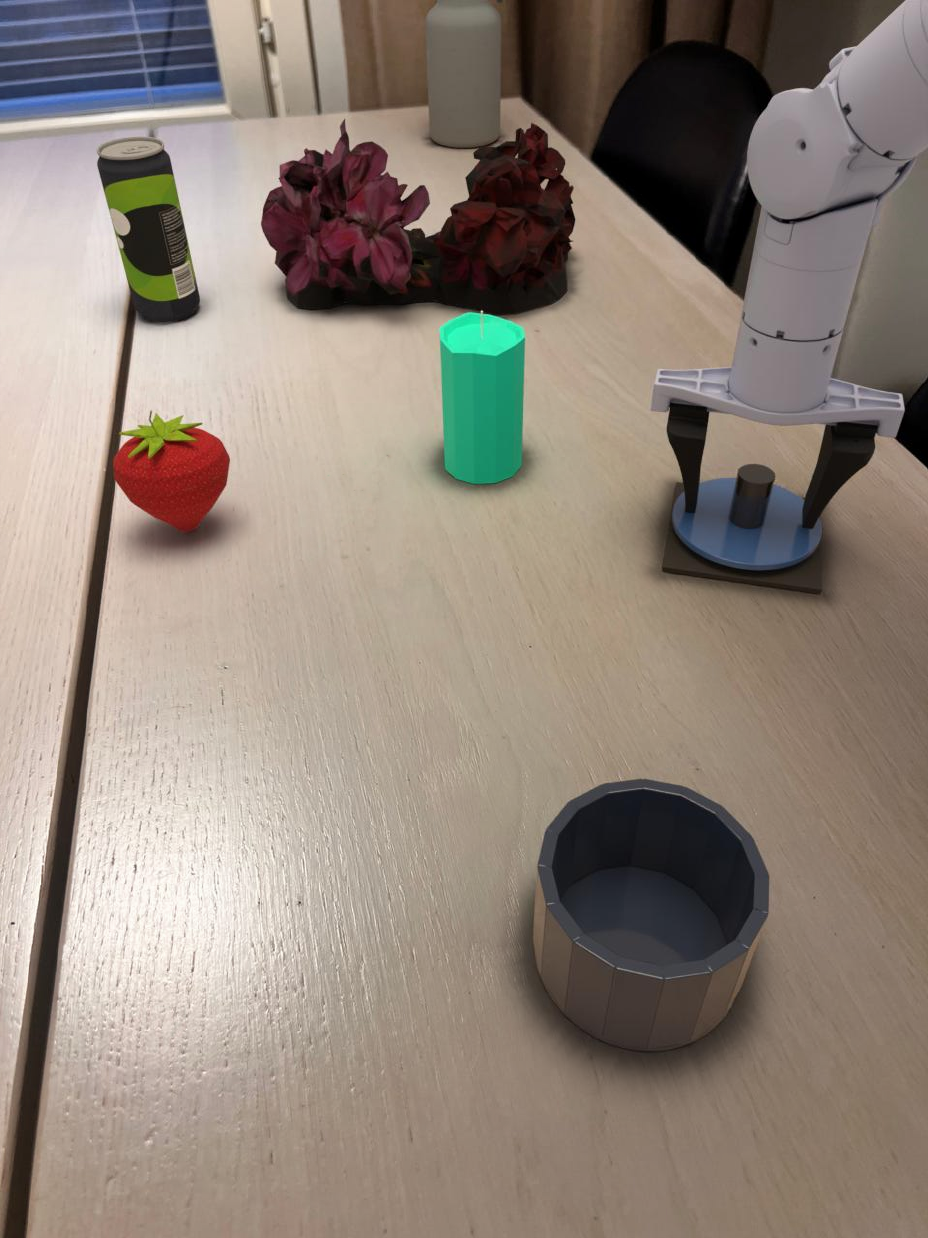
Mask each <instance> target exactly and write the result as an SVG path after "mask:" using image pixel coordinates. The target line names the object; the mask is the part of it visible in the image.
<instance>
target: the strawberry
mask: <svg viewBox="0 0 928 1238" xmlns="http://www.w3.org/2000/svg"><path fill="white" fill-rule="evenodd" d="M152 413H153V410H150V411H149V416H148V422H149V424H150V425H146V424H138V425H137V428H135V429H131V430H130V429H129V430H124V431H120V432H118V435H119V436H125V437H131V438H130V439H128V440H127V441H126V442H124V443H123V444H122V446H121V447H120V449H119V450H117V452H116V453H115V455H114V457H113V460H112V464H113V465H112V466H113V477H114V481H115V482H116V484H117V485H118V487H119V488H120V489H121V491H122V492H123V494H124V495H125V496H126V498H127V500H128V501H129V502H130V503H132V504H133V505H135V506H136V507H137V508H138V509H140V510H142V511H143V512H145V513H146V514H148V515H150V516H151V517H153V519H157V520H158V521H160V522H163V523H164V524H165V523H166V524H168V525H169V526H171V527H173V528H174V529H175V530H177V531H180V532H184V533H185V532H186V533H187V532H192V531H194V530H196V529H198V527H199V526H200V525H201V522H202V521H203V519H204V518H205V517H206V516H207V515H208V513H210V511H211V510H212V509H213V508H214V506H215V504H216V503H217V501H218V500H219V498H220V497H221V495H222V493H223V492H224V490H225V488H226V487H227V484H228V478H229V471H230V464H231V463H230V462H231V458H230V455H229V452H228V451H227V449H226V447H225V445H224V443H223V442H222V440H221V439H220V438H219V437H217V436H216V435H214V434H212V433H210V432H208V431H206V430H204V429H203V428H199V427H200V426H202V425H203V422H190V423H189V422H188V423H181V422H182V419H183V417H184V414H182V415H180V416H177V417H174V418H172V419H170V420H167V421H165V420H163V418H161V416H159V414H158V413H157V412H155V414H154V416H153V420H152V415H153V414H152Z"/></svg>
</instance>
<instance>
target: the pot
mask: <svg viewBox="0 0 928 1238" xmlns="http://www.w3.org/2000/svg"><path fill="white" fill-rule="evenodd" d="M539 851H540V852H539V856H538V860H537V864H536V879H535V895H534V896H535V897H534V910H533V911H534V913H533V929H532V944H533V950H534V958H535V964H536V967H537V971H538V974H539V976H540V979H541V982H542V984H543V986H544V989H545V990H546V992H547V993H548V996H549V998H551V1000H552V1001H553V1002H554V1004H555V1005H556V1007H557V1008H558V1009H559V1011H561V1013H563V1015H564V1016H565V1017H566V1018H568V1019H569V1021H570V1022H572V1023H573V1024H574V1025H576V1026H577V1027H578V1028H580V1029H581V1030H582V1031H584V1032H585V1033H587V1034H589V1035H590V1036H592V1037H594V1038H595V1039H598V1040H600V1041H602V1042H604V1043H606V1044H609V1045H611V1046H615V1047H618V1048H620V1049H621V1048H622V1049H624V1050H625V1049H627V1050H631V1051H637V1052H662V1051H669V1050H673V1049H678V1048H682V1047H684V1046H687V1045H690V1044H691V1043H695V1042H696V1041H697V1040H699V1039H702V1038H703V1037H704V1036H706V1035H707V1034H708V1033H710V1032H712V1030H714V1029H715V1028H716V1027H717V1026H718V1025H719V1024H720V1023H721V1022H722V1021H723V1020H724V1019H725V1017H726V1016H727V1014H728V1012H729V1011H730V1009H731V1008H732V1005H733V1003H734V1001H735V999H736V997H737V995H738V994H739V992H740V990H741V988H742V986H743V984H744V982H745V981H744V980H745V978H746V975H747V973H748V970H749V968H750V965H751V963H752V960H753V957H754V954H755V952H756V949H757V946H758V944H759V942H760V938H761V937H762V936H761V935H762V933H763V931H764V929H765V925H766V923H767V920H768V918H769V914H770V873H769V871H768V869H767V866H766V863H765V861H764V859H763V857H762V855H761V853H760V851H759V847H758V846H757V843H756V841H755V838H754V837H753V836H752V834H751V833H750V832H749V831H748V830H747V829H745V827H744V826H743V825H742V824H741V823H740V822H739V821H738V820H737V819H736V818H735V816H734V815H732V814H731V813H730V812H729V811H728V810H727V809H726V808H725V807H724V806H723V805H722V804H719V803H718V802H716V801H714V800H712V799H711V798H708V797H706V796H704V795H703V794H701V793H698V792H697V791H696V790H693V789H692V788H689V787H687V786H684V785H680V784H675V783H671V782H670V783H669V782H664V781H659V780H653V779H649V778H636V779H628V780H620V781H611V782H604V783H602V784H599V785H597V786H595V787H593V788H592V789H590V790H588V791H586V792H583V793H581V794H580V795H578V796H576V797H574V798H572V799H570V800H569V801H567V802H566V803H565V805H564V806H563V807H562V808H561V809H560V811H559V813H557V815H556V816H555V818H554V819H553V820H552V821H551V822H550V823H549V825H548V826H547V827H546V828H545V831H544V834H543V839H542V843H541V847H540V850H539Z"/></svg>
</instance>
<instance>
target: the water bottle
mask: <svg viewBox="0 0 928 1238" xmlns="http://www.w3.org/2000/svg"><path fill="white" fill-rule="evenodd" d="M495 1H496V3H498V4H500V3H503V2H504V1H503V0H495ZM425 53H426V75H427V76H426V77H427V78H426V79H427V101H428V102H427V103H428V126H429V135H430V137H431V139H432V140H433V142H435V143H436V144H439V146H440V145H441V146H443V147H448V148H457V149H471V148H480V147H481V146H488V145H490V144H492V143H494V142H495V141H496V140H498V138H499V137H500V135H501V91H502V90H501V86H502V85H501V84H502V83H501V75H502V71H501V70H502V65H501V64H502V18H501V14H500V12H499V10H497V8H496V7H495V6H494V5H492V4H491V2H490V0H436V3H435V5H434V6H433V7H431V8H430V9H429V11H428V13H427V15H426V16H425Z"/></svg>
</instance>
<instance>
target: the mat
mask: <svg viewBox="0 0 928 1238" xmlns="http://www.w3.org/2000/svg"><path fill="white" fill-rule="evenodd" d="M674 486H675V487H674V493H673V500H672V505H671V512H670V518H669V523H668V524H669V525H668V531H667V537H666V542H665V543H666V544H665V550H664V557H663V563H662V569H661V572H665V573H672V574H679V575H685V576H692V577H700V578H707V579H713V580H714V579H715V580H720V581H726V582H727V581H728V582H735V583H740V584H741V583H742V584H749V585H754V586H755V585H756V586H761V587H762V586H763V587H769V588H775V589H784V590H789V591H796V592H797V591H798V592H804V593H811V594H818V595H820V594H822V590H823V585H822V584H823V583H822V581H823V580H822V553H821V550H822V549H821V541H820V542H819V545H818V546H817V548H816V550H815V551H814V552H813V553H812V554H811V555H810V556H809V557H807V558H806V559H805V560H803V561H801V562H799V563H797V564H795V565H792V566H789V567H785V568H781V569H774V570H746V569H739V568H733V567H729V566H725V565H722V564H719V563H716V562H713V561H711V560H709V559H706V558H704V557H702V556H701V555H699V554H697V553H696V552H694V551H693V550H691V549H690V548H689V547H688V546H686V545H685V544H684V543H683V542H682V540H681V539H680V538H679V537H678V535H677V534H676V532H675V530H674V527H673V524H672V511H673V507H674V504H675V502H676V500H677V499H678V497H679V496H680V495H681V494H682V493H683V492H684V485H683V482H679V481H676V482H675V485H674ZM801 498H802V499H804V500H805V497H801ZM819 519H820V520H821V517H819Z"/></svg>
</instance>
